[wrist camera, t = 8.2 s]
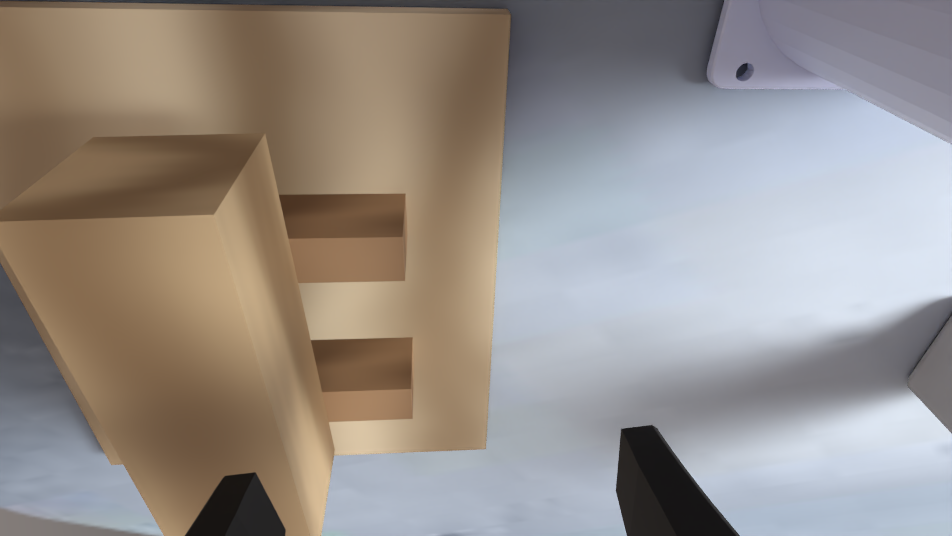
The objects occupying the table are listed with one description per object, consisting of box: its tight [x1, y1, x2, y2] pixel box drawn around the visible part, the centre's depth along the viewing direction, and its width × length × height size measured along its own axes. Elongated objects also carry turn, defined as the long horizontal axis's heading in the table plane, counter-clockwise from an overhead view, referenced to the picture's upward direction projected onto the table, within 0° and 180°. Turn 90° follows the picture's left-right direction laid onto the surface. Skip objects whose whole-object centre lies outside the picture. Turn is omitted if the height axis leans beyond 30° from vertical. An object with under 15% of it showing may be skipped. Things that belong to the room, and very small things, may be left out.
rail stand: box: [0, 1, 511, 465], centre depth 19 cm, size 16×18×3 cm
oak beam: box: [0, 133, 335, 536], centre depth 15 cm, size 4×12×4 cm, turn 0°
